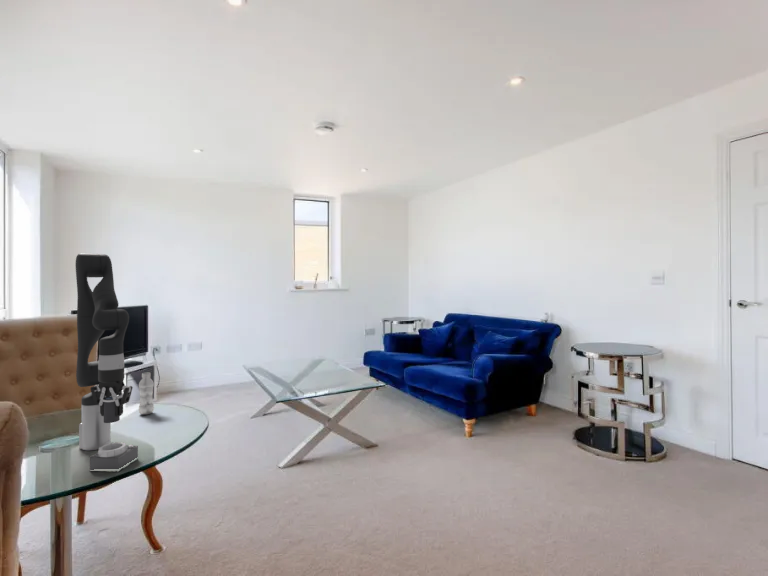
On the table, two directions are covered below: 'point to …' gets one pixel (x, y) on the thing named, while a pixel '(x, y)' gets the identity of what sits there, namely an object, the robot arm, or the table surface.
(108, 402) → the lens
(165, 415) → the table surface
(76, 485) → the table surface
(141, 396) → the plastic bottle
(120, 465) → the camera body
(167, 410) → the table surface
